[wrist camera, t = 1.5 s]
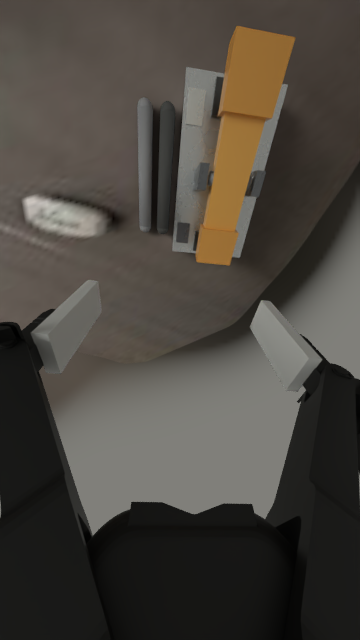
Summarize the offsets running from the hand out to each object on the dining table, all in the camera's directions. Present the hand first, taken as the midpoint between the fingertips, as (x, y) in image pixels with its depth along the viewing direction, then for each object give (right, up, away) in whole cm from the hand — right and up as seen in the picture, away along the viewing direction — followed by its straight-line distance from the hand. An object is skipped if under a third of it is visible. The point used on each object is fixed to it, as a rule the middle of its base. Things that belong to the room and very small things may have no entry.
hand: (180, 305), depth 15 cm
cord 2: (-2, +21, +14) cm, 26 cm away
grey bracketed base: (+6, +21, +15) cm, 26 cm away
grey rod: (-5, +22, +14) cm, 26 cm away
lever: (+6, +15, +7) cm, 18 cm away
